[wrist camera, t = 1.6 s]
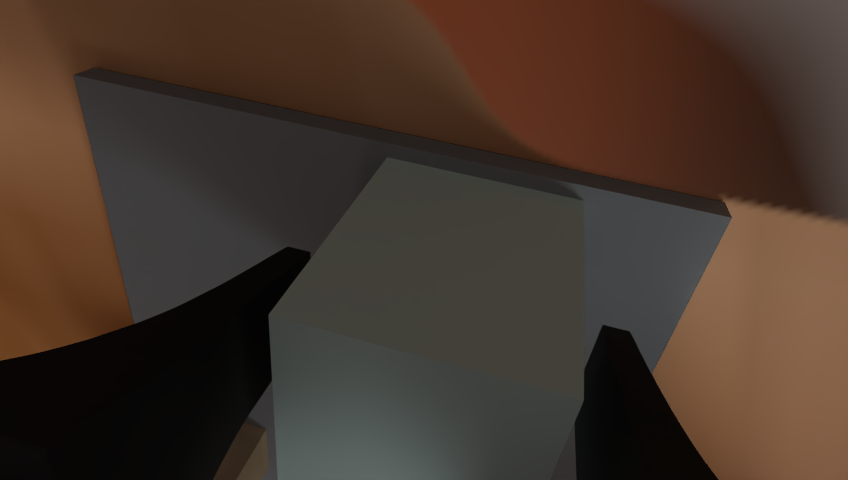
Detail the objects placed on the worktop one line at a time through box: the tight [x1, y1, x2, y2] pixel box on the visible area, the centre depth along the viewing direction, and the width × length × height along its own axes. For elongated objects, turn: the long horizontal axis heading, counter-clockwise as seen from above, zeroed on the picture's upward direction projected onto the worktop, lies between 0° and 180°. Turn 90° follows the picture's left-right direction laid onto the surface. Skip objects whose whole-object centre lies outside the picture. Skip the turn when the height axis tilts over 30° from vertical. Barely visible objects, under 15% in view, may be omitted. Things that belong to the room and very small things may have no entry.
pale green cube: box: [268, 157, 584, 480], centre depth 13 cm, size 5×5×7 cm
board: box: [74, 68, 732, 480], centre depth 20 cm, size 18×20×1 cm
